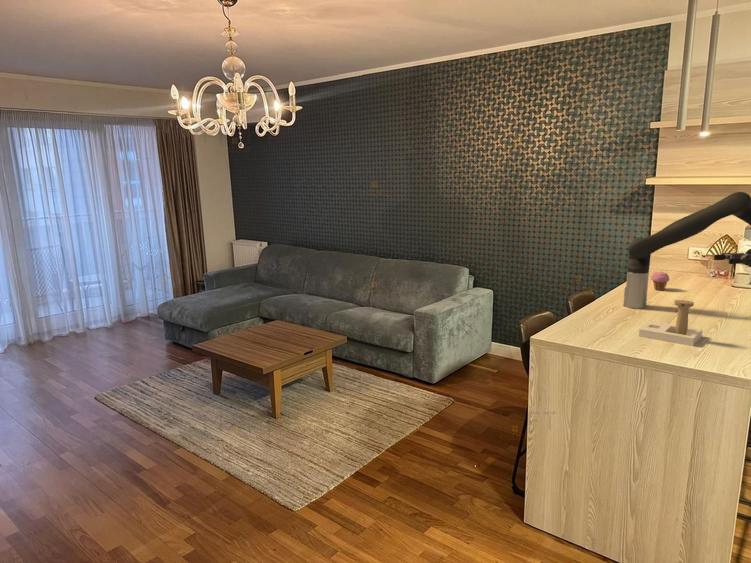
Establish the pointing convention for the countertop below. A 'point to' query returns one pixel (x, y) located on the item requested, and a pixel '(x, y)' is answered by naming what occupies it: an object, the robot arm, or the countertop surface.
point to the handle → (682, 316)
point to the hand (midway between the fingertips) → (721, 259)
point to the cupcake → (660, 280)
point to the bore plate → (670, 333)
